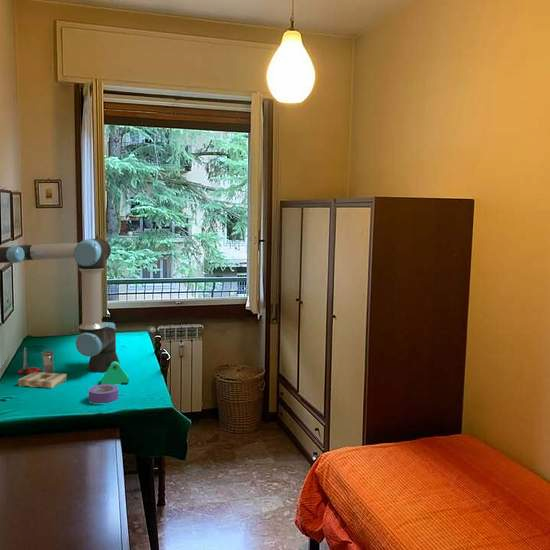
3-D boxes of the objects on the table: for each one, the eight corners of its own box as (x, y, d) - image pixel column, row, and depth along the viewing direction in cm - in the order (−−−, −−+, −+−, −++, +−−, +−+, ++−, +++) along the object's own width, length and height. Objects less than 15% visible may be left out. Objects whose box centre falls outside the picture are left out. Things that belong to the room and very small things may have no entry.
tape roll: (124, 400, 225) (123, 388, 225) (98, 407, 216) (98, 395, 216) (108, 393, 233) (108, 382, 232) (83, 400, 224) (83, 388, 224)
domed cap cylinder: (56, 373, 260) (56, 351, 258) (50, 376, 254) (49, 353, 253) (47, 372, 261) (46, 350, 259) (40, 375, 255) (39, 353, 254)
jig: (66, 380, 249) (66, 374, 249) (51, 388, 238) (51, 382, 237) (35, 378, 252) (35, 371, 252) (18, 386, 240) (18, 379, 240)
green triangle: (128, 379, 252) (128, 358, 251) (129, 384, 245) (128, 362, 244) (101, 381, 249) (101, 359, 248) (101, 386, 242) (100, 364, 241)
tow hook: (27, 369, 267) (16, 373, 258) (27, 343, 266) (15, 347, 257) (43, 370, 266) (32, 375, 257) (43, 344, 265) (32, 348, 256)
